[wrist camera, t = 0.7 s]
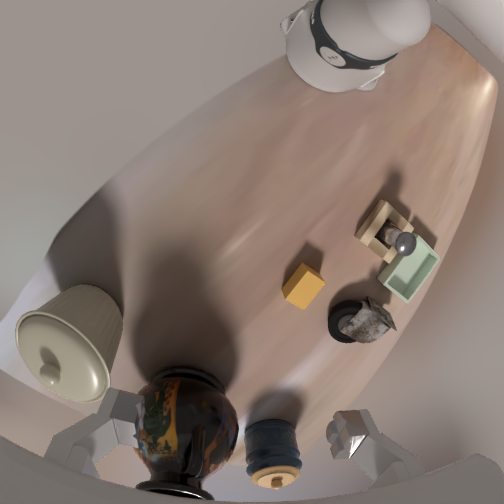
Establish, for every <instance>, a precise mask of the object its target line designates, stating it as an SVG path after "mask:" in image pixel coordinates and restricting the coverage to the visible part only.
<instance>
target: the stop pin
mask: <svg viewBox="0 0 504 504" xmlns="http://www.w3.org/2000/svg"><path fill="white" fill-rule="evenodd" d="M376 236H377V237H378V238H380V239H382V240H383V241H385V242H386V243H388V244H389V245H391V246H392V247H394V248H395V249H396V251H397V253H399V254H400V255H402V256H409V255H411V254H412V253H413V252H414V250H415V249H416V245H417V240H416V237H415V236H414V235H413V234H412V233H410V232H403V231H401V230H399V229H397V228H395V227H393V226H391V225H389V224H387V223H385V222H384V224H383V225H382V226H381V228H380V229H379V231H378V232H377V233H376Z"/></svg>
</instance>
